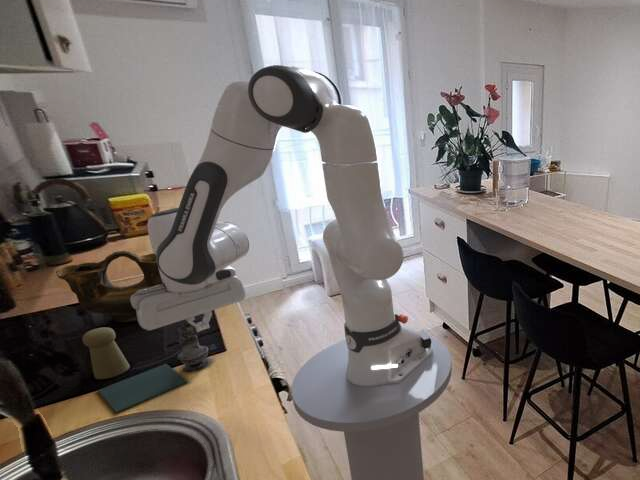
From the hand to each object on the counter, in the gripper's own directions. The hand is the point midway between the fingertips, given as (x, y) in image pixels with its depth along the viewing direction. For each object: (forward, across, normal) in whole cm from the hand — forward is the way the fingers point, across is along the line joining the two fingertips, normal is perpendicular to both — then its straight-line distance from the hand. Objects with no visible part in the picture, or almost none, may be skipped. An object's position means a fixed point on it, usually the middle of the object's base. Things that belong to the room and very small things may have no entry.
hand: (202, 329), depth 99 cm
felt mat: (+9, -13, 0) cm, 15 cm away
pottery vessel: (+9, -2, +42) cm, 43 cm away
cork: (+9, -15, +13) cm, 22 cm away
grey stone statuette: (+9, -3, 0) cm, 9 cm away
